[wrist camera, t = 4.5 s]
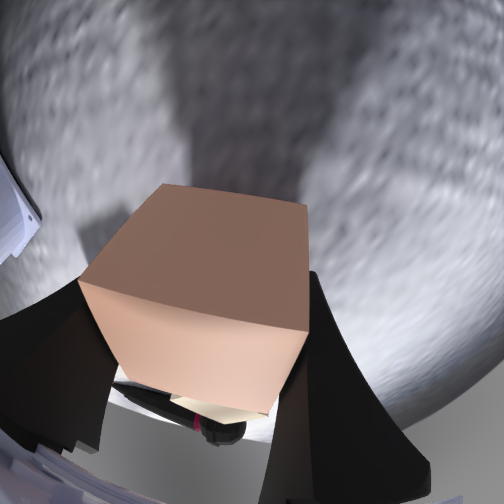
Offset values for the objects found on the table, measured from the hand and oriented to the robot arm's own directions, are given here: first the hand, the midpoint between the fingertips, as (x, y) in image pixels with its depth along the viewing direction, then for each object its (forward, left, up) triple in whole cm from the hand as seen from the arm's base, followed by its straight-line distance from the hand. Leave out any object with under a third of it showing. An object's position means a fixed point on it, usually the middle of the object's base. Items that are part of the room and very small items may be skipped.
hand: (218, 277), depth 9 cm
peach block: (0, 0, -1) cm, 1 cm away
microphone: (+18, -20, -5) cm, 27 cm away
